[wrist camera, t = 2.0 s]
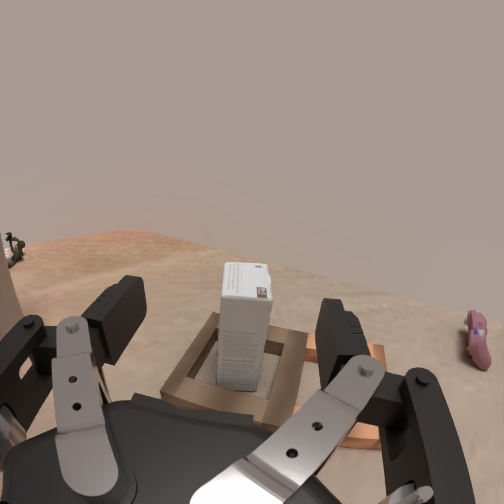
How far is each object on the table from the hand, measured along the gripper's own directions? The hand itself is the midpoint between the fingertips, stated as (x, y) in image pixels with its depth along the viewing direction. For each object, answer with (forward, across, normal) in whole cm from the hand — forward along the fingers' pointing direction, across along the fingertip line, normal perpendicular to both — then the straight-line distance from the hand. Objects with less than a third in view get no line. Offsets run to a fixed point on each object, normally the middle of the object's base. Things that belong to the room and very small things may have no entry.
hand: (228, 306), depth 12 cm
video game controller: (+16, -35, +17) cm, 42 cm away
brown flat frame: (+10, -5, +17) cm, 20 cm away
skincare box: (+11, 0, +17) cm, 20 cm away
